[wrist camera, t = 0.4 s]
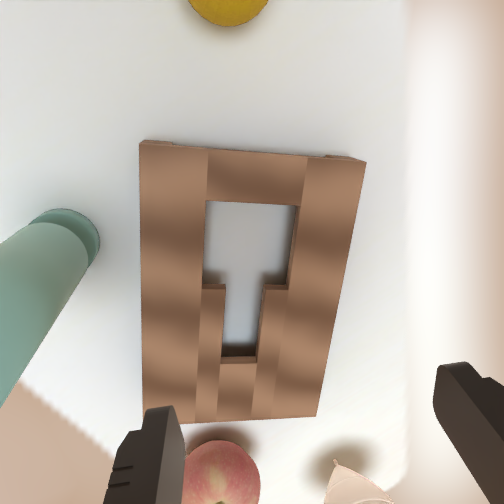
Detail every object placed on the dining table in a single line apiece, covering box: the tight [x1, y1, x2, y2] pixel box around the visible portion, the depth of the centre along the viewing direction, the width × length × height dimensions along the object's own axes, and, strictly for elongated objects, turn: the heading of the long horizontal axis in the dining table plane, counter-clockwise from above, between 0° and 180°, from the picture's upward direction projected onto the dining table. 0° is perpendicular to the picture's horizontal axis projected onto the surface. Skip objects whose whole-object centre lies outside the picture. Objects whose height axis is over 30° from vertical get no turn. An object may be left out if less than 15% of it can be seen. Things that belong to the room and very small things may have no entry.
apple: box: [181, 440, 260, 504], centre depth 35 cm, size 8×8×8 cm
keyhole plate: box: [139, 140, 367, 424], centre depth 31 cm, size 24×16×3 cm, turn 175°
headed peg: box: [0, 209, 100, 408], centre depth 21 cm, size 5×5×16 cm
